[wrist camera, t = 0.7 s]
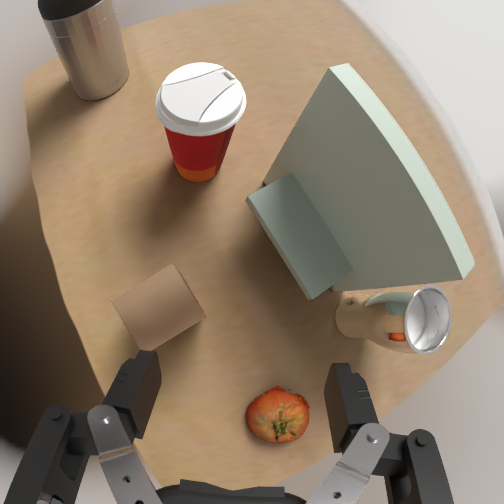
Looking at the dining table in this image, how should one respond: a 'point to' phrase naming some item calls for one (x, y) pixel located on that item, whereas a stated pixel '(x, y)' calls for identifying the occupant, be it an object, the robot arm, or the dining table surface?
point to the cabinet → (158, 308)
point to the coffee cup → (199, 116)
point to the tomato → (278, 416)
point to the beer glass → (398, 318)
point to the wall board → (356, 198)
